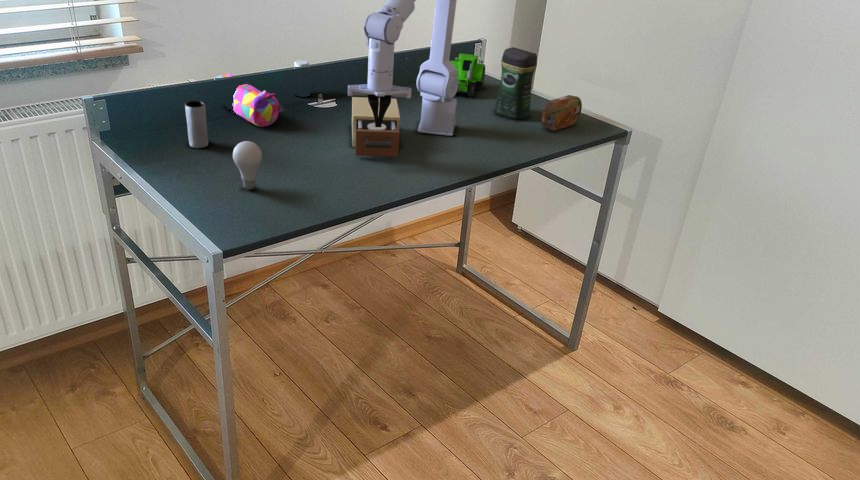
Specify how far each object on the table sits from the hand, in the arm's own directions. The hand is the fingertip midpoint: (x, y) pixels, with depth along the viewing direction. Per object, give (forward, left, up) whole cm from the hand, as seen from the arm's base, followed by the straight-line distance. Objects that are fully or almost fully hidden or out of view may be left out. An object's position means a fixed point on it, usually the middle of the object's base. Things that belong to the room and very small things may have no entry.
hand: (378, 125), depth 173 cm
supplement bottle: (+28, -39, -9) cm, 49 cm away
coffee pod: (+1, -5, -7) cm, 9 cm away
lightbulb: (+24, +23, -9) cm, 35 cm away
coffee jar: (-33, -42, -9) cm, 54 cm away
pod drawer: (+1, -4, -8) cm, 9 cm away
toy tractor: (-18, -59, -9) cm, 63 cm away
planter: (+43, +3, -9) cm, 45 cm away
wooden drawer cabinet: (+3, -14, -9) cm, 17 cm away
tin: (-46, -37, -9) cm, 59 cm away
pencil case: (+38, -19, -9) cm, 44 cm away
